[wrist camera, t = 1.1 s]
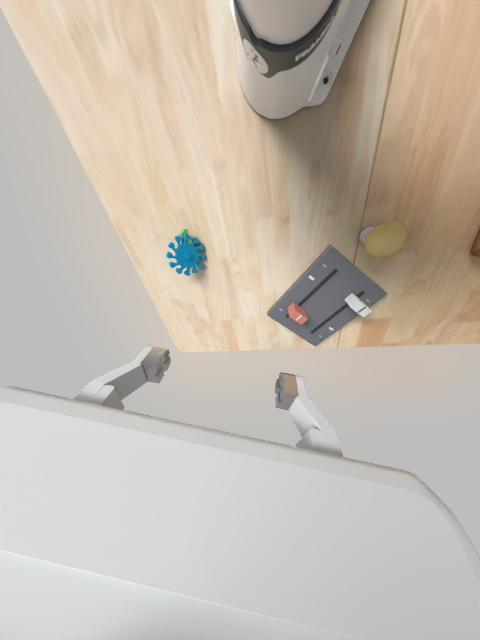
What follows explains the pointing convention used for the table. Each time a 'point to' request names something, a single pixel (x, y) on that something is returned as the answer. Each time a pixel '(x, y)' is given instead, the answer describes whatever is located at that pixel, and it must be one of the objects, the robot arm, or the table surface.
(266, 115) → the robot arm
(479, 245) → the tray
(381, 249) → the light bulb
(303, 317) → the red fader
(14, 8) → the table surface
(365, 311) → the grey fader
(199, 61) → the table surface
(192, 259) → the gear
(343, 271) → the console
